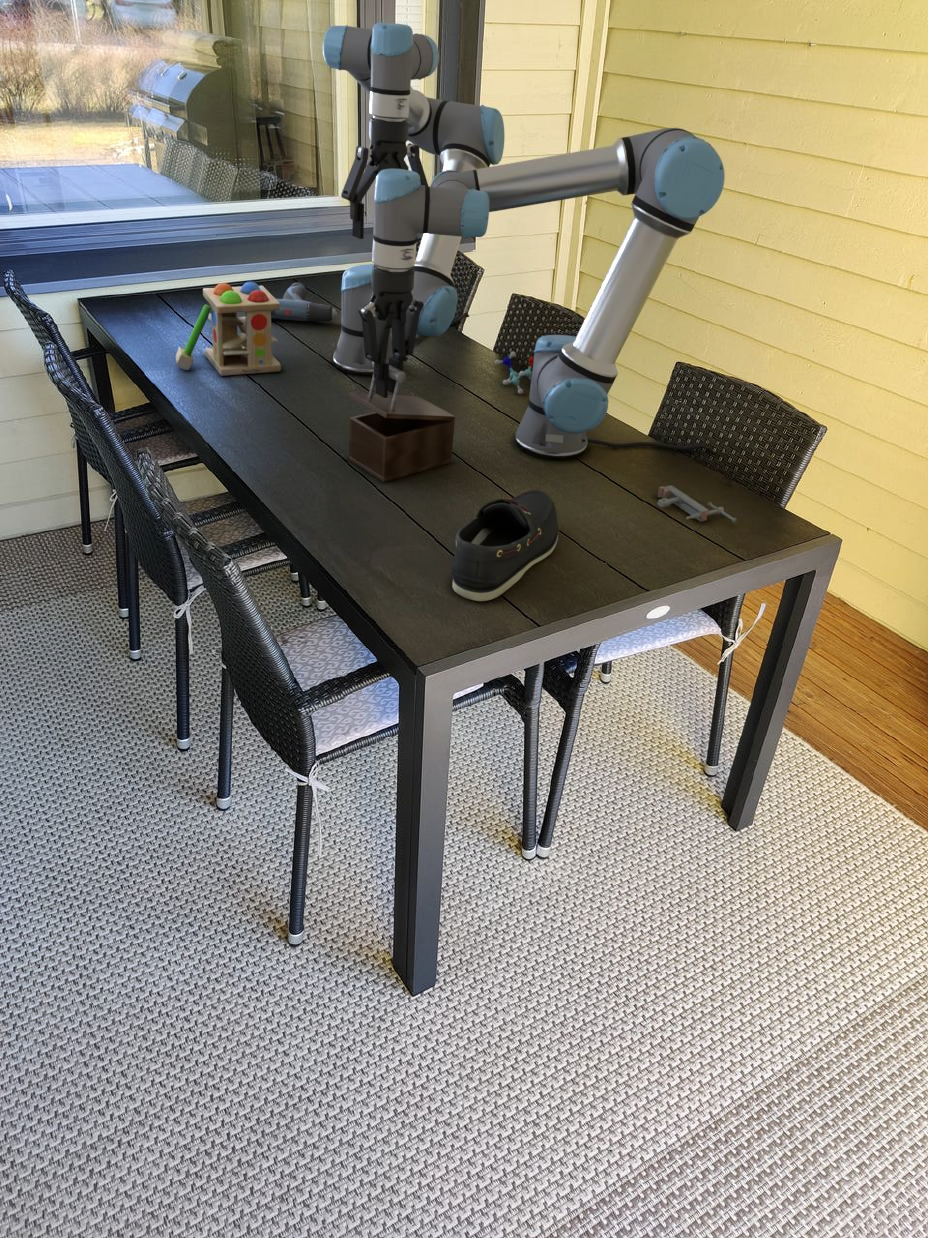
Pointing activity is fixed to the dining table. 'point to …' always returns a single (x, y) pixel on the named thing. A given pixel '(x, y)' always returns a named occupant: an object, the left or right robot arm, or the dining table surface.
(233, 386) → the dining table surface
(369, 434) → the chest
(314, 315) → the power drill
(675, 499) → the clamp
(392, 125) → the left robot arm
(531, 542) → the boat shoe
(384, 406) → the lid
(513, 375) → the molecular model
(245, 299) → the pounding bench toy
